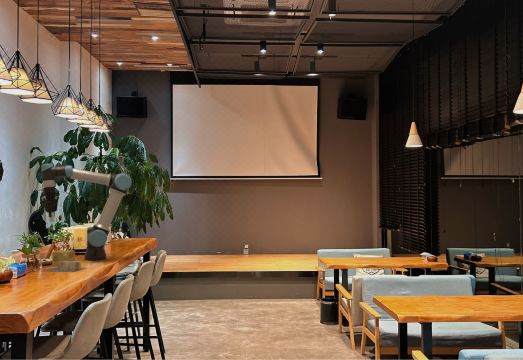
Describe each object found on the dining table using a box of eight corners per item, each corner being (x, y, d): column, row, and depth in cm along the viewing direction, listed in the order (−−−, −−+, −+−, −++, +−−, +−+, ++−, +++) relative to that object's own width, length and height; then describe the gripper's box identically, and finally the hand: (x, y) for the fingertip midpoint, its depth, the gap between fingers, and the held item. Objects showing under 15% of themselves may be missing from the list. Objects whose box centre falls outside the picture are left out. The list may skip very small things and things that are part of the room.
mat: (55, 268, 317) (55, 267, 317) (87, 268, 314) (87, 267, 314) (40, 272, 302) (40, 271, 302) (74, 273, 299) (74, 272, 299)
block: (63, 260, 311) (81, 261, 309) (62, 268, 311) (81, 269, 309) (58, 262, 306) (76, 262, 304) (58, 270, 306) (76, 270, 304)
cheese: (66, 267, 320) (66, 252, 320) (51, 267, 322) (51, 251, 322) (75, 265, 330) (75, 250, 330) (60, 264, 332) (60, 249, 332)
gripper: (53, 186, 340) (56, 221, 340) (37, 187, 329) (40, 223, 329) (61, 186, 337) (64, 220, 336) (44, 186, 325) (47, 222, 325)
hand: (52, 221), depth 333 cm, fingers closed
